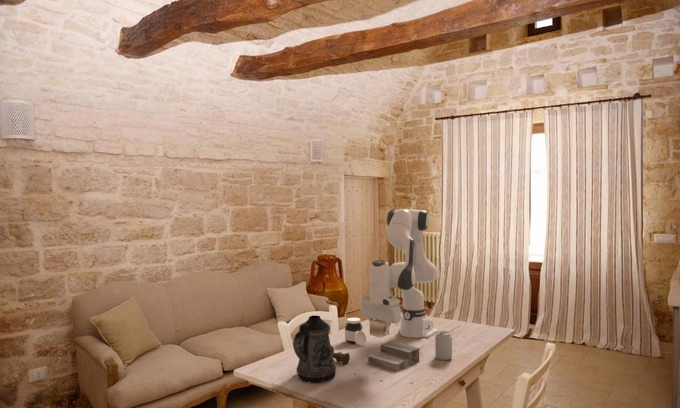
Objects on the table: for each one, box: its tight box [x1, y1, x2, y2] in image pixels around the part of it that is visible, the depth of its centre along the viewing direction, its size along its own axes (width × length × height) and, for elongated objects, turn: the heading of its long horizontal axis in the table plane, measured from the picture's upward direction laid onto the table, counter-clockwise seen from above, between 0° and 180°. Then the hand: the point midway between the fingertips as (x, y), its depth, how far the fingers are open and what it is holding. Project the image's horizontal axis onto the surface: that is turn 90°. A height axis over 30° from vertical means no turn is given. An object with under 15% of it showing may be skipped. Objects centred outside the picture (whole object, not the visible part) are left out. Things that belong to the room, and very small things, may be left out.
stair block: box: [367, 340, 420, 372], centre depth 215 cm, size 17×16×6 cm
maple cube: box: [369, 319, 390, 339], centre depth 208 cm, size 6×6×6 cm
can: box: [434, 330, 453, 361], centre depth 220 cm, size 8×8×12 cm
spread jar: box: [344, 317, 367, 346], centre depth 244 cm, size 12×11×12 cm
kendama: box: [330, 344, 351, 365], centre depth 219 cm, size 6×10×20 cm
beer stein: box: [292, 315, 337, 384], centre depth 198 cm, size 16×19×25 cm
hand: (379, 329), depth 208 cm, fingers closed on maple cube, 6 cm apart
